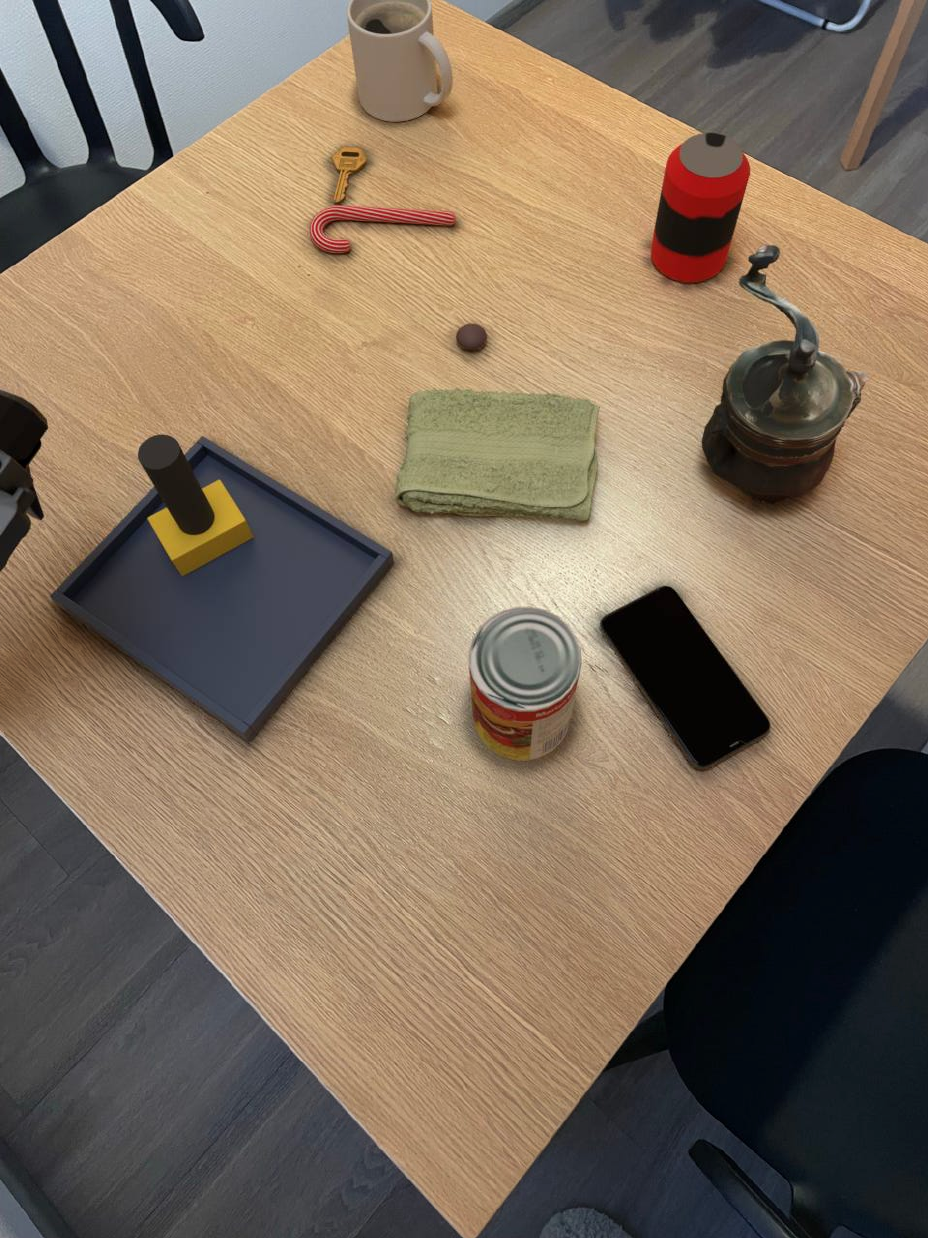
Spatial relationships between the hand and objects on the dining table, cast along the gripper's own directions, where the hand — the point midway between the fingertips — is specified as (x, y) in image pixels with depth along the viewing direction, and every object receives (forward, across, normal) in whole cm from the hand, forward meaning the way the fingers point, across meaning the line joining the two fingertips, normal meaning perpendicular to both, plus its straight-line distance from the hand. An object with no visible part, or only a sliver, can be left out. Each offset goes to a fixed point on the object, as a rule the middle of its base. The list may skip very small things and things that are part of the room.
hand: (2, 568), depth 71 cm
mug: (+18, +69, +6) cm, 72 cm away
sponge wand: (+14, +12, -4) cm, 19 cm away
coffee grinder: (+20, +40, -44) cm, 63 cm away
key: (+16, +56, +6) cm, 59 cm away
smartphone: (+18, +18, -46) cm, 53 cm away
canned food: (+17, +9, -36) cm, 41 cm away
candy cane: (+17, +51, -1) cm, 54 cm away
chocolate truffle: (+18, +42, -16) cm, 48 cm away
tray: (+14, +9, -8) cm, 19 cm away
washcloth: (+18, +30, -24) cm, 42 cm away
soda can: (+20, +60, -31) cm, 71 cm away
